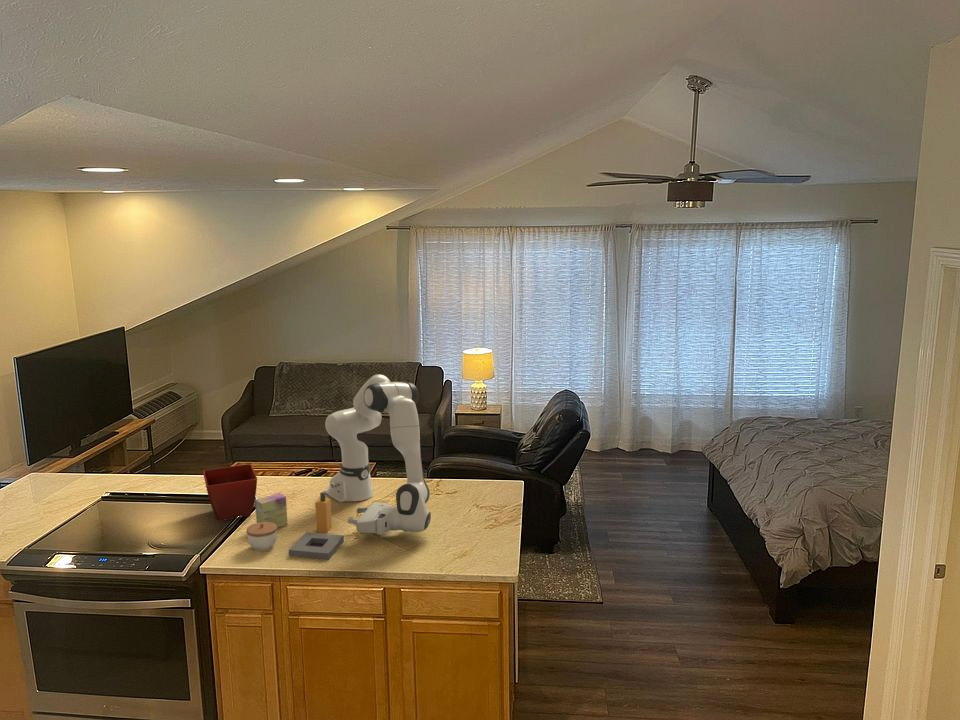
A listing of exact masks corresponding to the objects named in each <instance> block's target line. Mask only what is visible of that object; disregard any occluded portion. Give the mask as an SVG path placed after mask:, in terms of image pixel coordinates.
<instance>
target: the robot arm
mask: <svg viewBox="0 0 960 720" xmlns="http://www.w3.org/2000/svg"><path fill="white" fill-rule="evenodd" d="M418 400H419V391H418V388H417V386H416V385H415V384H414V383H411V382H407V381H391V380H390V379H389V378H388V377H387V376H386V375H384V374H374V375H372V376H371V377H370V378H369V379H368V380H367V381H365V382H364V384H363V385H362V386H361V387H360V389H359V391H358V392H357V394H356V395H355V396H354V397H353V400H352V405H353V407H350V408H347V409H342V410H337V411H335V412H333V413H330V414H329V415H327V417H326V419H325V423H324V425H325V426H324V427H325V430H326V432H327V434H328V435H329V436H330V437H332V438H333V439H335V440H336V441H337V442H338V443H337V444H338V445H339V447H340V451H341V463H340V464H338V466H337V467H338V468H340V469H339V471H338V472H337V473H336V474H335V475H333V476H332V477H331V478H330V480H329V486H328V487H326V488H325V489H324V490H323V492H325V495H327V496H329V497H331V498H333V499H334V500H336V501H337V502H340V503H345V502H360V501H365V500H369V499H370V498H372V497H373V496H374V493H373V491H374V487H373V486H372V478H371V473H370V468H371V467H370V462H369V447H368V446H367V444H365V442H363V441H362V440H359V439H358V437H357V435H358V434H360V433H364V432H368V431H371V430H373V429H375V428H377V427H380V425H381V422H382V414H383V413H384V411H385V412H386V413H388V415H389V427H390V437H391V441H392V444H393V447H394V448H395V449H396V450H398V452H400V454H401V455H402V457H403V459H404V463H405V471H406V479H407V480H406V483H405V484H402V485H400V487H399V488H398V489H397V491H396V493H395V501H396V502H395V503H396V506H393V505H390V504H388V503H385V502H380V501H379V502H378V501H374V502H372V503H371V504H370V505H369V506H363V507H357V509H356V513H357V514H362V515H361V516H360V517H359V518H354V516H353V517H348V518H347V523H348V524H352V525H354V526H356V527H355V529H356V531H357V532H360V533H364V534H377V535H379V536H383V535H384V534H386V533H387V532H390V531H394V532H395V531H403V532H405V533H407V532H409V533H421V532H424V531H426V530H427V528H428V527H429V525H430V522H431V519H432V517H431V516H432V513H431V511H430V509H429V508H428V506H427V502H429V500H430V489H429V487H428V484H427V483H426V480H425V477H424V469H423V464H422V463H423V462H422V455H421V436H420V435H421V434H420V433H421V432H420V419H419V415H418V414H419V413H418V409H417V406H416V405H417V403H418Z"/></svg>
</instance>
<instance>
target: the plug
mask: <svg viewBox="0 0 960 720" xmlns="http://www.w3.org/2000/svg"><path fill="white" fill-rule="evenodd" d="M319 493H320V495H319V498H318V499H317V500H316V501H315V503H314V505H315V527H316V528H315V529H316V533H324V534H329V532H330V530H332V528H333V526H332V524H333V523H332V501H331V498H326V493H325V492H324V491H322V492H319Z"/></svg>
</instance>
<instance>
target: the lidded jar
mask: <svg viewBox="0 0 960 720" xmlns="http://www.w3.org/2000/svg"><path fill="white" fill-rule="evenodd" d="M246 536H247V540H248V541H247V542H248V545H250V547H252V549H254V550H255V551H257V552H266V551H268V550H270V549H272V547H273V546H274V545H275V543H276V541H277V538H278V528H277V525H276V524H275V523H272V522H259V523H257V522H255V523H253V524H250V525H249V526H248V527H247V528H246Z"/></svg>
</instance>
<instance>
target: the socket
mask: <svg viewBox="0 0 960 720" xmlns="http://www.w3.org/2000/svg"><path fill="white" fill-rule="evenodd" d="M344 543H345V534H344V535H343V534H335V533H334V534H331V533H324V532H312V531H311V532H310V531H305V532H304V533H303V534H302V536H301V537H300V538H299V539H297V540H296V542H294V544H293V545H292V546H290V548H288V557H290V558H291V557H292V558H293V557H294V558H303V559H313V560H323V561H324V560H325V561H329V560H330V559H331V558H332V556H334V554H335V553H337V551H338V549H339V548H340V547H342V545H343V544H344Z"/></svg>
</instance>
